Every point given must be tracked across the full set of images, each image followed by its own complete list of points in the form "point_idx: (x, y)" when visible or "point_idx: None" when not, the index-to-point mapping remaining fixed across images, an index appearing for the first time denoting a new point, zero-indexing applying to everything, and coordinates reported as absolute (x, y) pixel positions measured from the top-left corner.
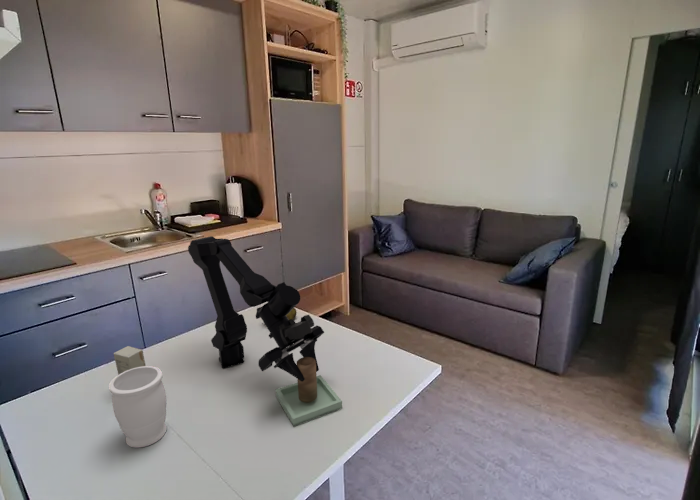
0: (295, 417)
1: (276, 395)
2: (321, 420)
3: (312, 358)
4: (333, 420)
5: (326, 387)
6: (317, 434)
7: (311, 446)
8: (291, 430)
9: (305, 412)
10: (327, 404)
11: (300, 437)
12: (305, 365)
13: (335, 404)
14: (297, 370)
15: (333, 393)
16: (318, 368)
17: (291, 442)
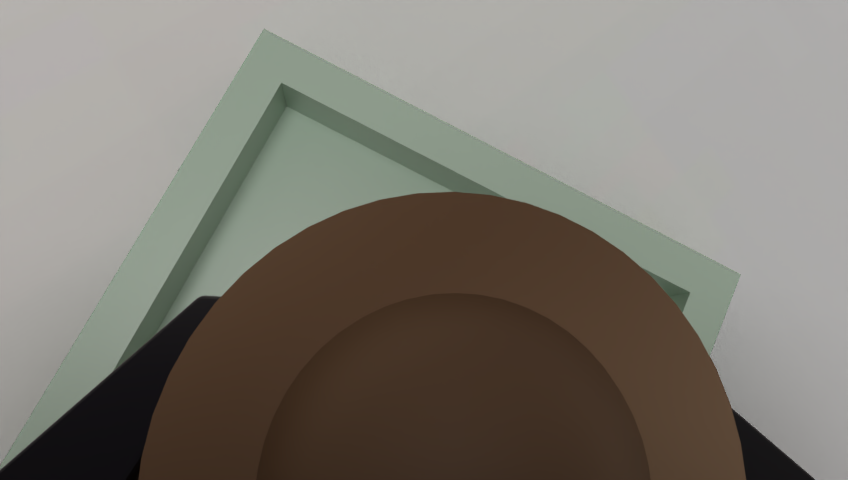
0: (712, 269)
1: None
2: (502, 133)
3: (173, 469)
4: (444, 49)
5: (145, 312)
6: (638, 68)
7: (748, 36)
8: (731, 268)
9: (608, 234)
10: (391, 123)
11: (738, 158)
12: (613, 373)
13: (333, 69)
14: (784, 473)
15: (201, 176)
16: (189, 308)
17: (812, 182)
